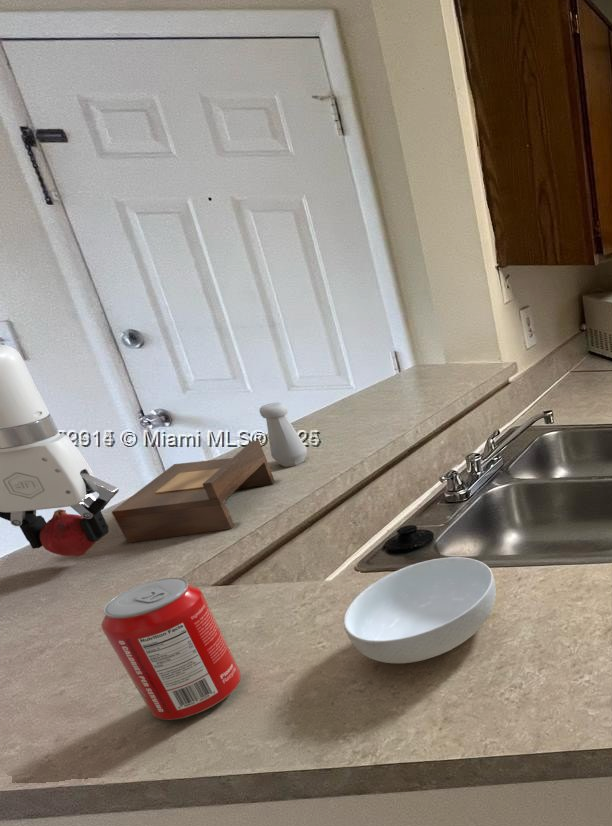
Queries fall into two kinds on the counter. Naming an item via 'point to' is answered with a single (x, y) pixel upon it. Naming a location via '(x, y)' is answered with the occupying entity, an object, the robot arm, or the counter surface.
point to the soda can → (171, 647)
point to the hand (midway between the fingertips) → (71, 539)
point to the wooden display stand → (191, 496)
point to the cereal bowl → (421, 610)
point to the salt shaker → (283, 436)
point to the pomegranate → (65, 535)
